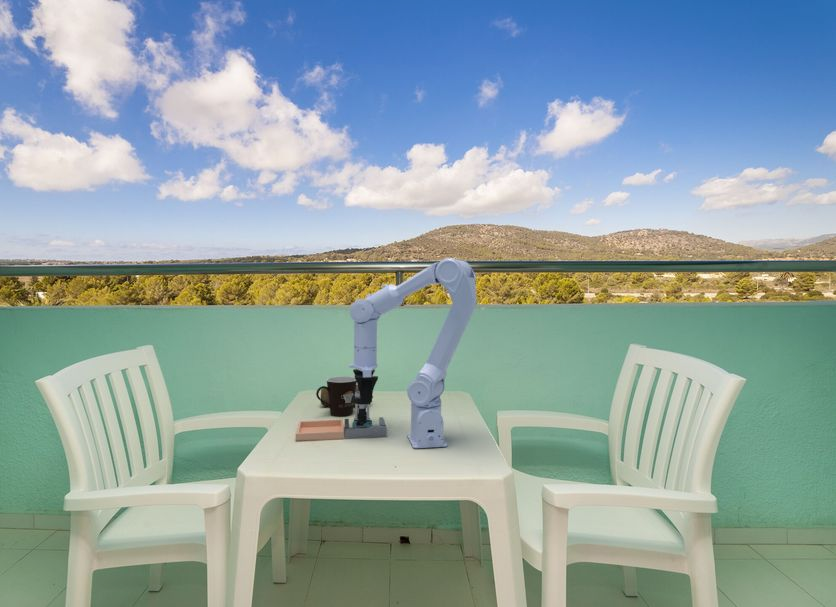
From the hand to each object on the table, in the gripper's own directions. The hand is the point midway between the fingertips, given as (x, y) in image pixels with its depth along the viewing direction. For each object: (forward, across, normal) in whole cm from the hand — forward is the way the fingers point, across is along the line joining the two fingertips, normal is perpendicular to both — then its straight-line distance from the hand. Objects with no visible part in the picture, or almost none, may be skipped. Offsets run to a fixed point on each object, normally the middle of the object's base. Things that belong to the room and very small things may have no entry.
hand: (364, 400), depth 113 cm
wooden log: (+8, -26, -4) cm, 28 cm away
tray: (+8, 0, -11) cm, 14 cm away
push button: (+8, 0, 0) cm, 8 cm away
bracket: (+8, 0, 0) cm, 8 cm away
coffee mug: (+8, -17, -7) cm, 20 cm away
